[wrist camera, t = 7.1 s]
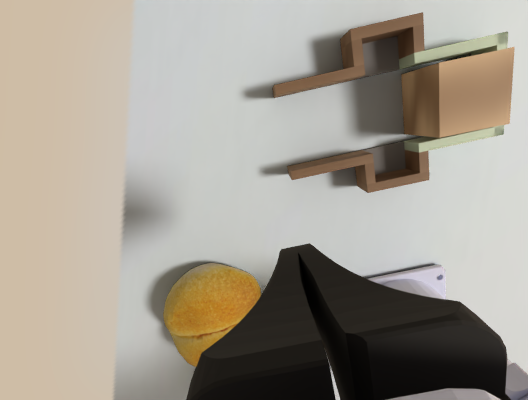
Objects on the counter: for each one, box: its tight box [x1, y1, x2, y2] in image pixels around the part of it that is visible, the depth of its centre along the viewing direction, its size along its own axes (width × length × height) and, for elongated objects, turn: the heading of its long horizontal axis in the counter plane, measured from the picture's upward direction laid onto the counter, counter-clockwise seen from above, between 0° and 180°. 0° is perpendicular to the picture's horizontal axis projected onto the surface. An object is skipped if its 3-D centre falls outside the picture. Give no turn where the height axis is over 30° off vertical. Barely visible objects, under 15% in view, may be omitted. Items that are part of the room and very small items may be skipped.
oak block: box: [401, 47, 514, 138], centre depth 17 cm, size 4×4×4 cm
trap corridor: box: [272, 12, 508, 193], centre depth 18 cm, size 10×14×2 cm
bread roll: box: [163, 263, 261, 367], centre depth 21 cm, size 8×9×4 cm
